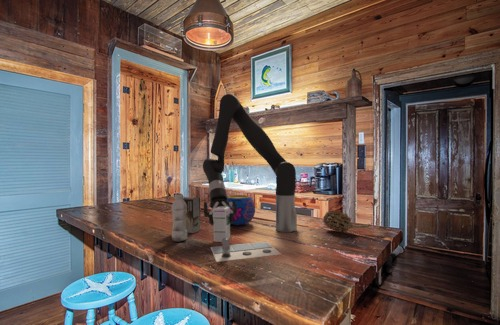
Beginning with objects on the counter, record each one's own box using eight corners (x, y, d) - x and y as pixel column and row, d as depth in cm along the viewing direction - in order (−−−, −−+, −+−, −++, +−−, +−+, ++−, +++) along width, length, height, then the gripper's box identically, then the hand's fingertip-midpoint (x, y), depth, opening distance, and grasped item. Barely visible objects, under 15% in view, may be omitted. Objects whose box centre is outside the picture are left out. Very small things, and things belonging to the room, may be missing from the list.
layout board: (266, 243, 106) (266, 240, 106) (281, 256, 92) (281, 253, 92) (210, 249, 99) (210, 246, 99) (216, 264, 85) (216, 261, 85)
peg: (229, 254, 92) (229, 237, 92) (230, 257, 89) (230, 239, 89) (221, 255, 91) (221, 238, 91) (223, 257, 88) (223, 240, 88)
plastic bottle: (190, 239, 113) (190, 193, 113) (181, 244, 106) (181, 195, 106) (177, 238, 115) (177, 192, 115) (168, 242, 109) (167, 194, 108)
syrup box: (226, 244, 105) (226, 208, 105) (213, 243, 107) (212, 208, 107) (230, 240, 111) (230, 206, 111) (217, 239, 112) (217, 206, 112)
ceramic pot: (236, 219, 151) (235, 193, 151) (261, 223, 141) (261, 195, 140) (215, 225, 137) (215, 197, 137) (242, 230, 126) (241, 199, 126)
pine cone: (319, 231, 123) (319, 210, 123) (326, 227, 131) (326, 207, 131) (370, 239, 111) (369, 216, 111) (374, 234, 119) (374, 212, 118)
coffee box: (201, 230, 128) (200, 197, 128) (193, 233, 122) (193, 199, 122) (185, 228, 131) (185, 196, 131) (177, 231, 125) (177, 198, 125)
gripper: (202, 187, 114) (205, 219, 103) (234, 186, 118) (240, 217, 107) (201, 198, 119) (204, 229, 108) (231, 196, 123) (237, 226, 112)
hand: (222, 223), depth 107 cm, fingers closed on syrup box, 7 cm apart
